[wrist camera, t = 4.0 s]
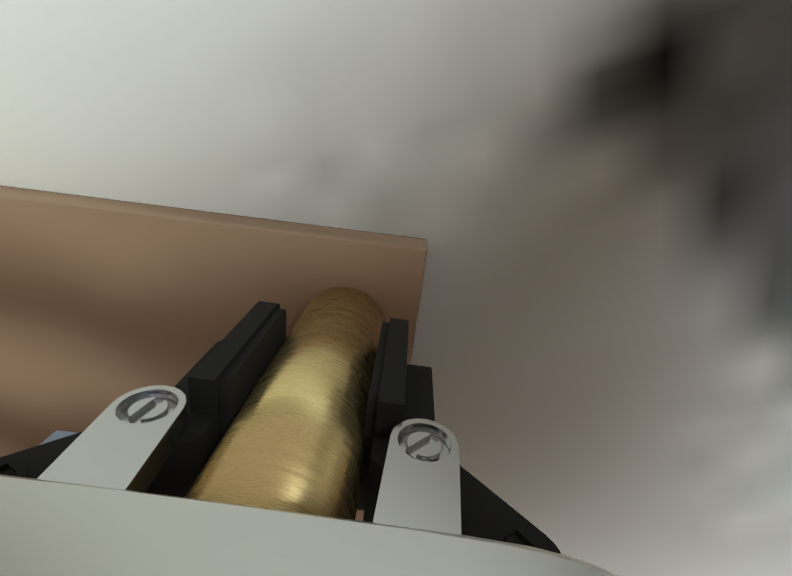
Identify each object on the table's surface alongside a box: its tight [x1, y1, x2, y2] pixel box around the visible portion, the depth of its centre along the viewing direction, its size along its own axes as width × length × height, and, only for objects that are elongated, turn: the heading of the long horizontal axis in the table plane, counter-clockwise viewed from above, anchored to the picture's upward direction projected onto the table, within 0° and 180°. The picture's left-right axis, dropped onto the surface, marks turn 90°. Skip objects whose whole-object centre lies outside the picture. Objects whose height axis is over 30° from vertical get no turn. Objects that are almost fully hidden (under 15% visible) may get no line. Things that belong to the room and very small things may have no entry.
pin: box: [184, 287, 385, 520], centre depth 10 cm, size 3×3×9 cm
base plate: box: [0, 186, 427, 521], centre depth 17 cm, size 19×22×2 cm
